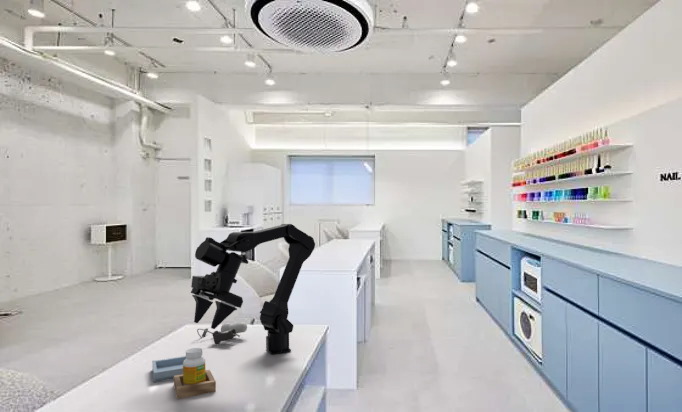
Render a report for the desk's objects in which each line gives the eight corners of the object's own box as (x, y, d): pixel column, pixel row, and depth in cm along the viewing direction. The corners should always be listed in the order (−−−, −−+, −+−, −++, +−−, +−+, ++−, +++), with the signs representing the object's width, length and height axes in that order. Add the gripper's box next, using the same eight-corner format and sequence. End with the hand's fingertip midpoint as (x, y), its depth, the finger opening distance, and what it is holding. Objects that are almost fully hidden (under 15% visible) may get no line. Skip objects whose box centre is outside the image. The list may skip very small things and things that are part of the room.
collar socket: (209, 378, 113) (209, 369, 113) (215, 391, 105) (215, 381, 105) (173, 385, 109) (173, 375, 109) (177, 399, 101) (177, 388, 101)
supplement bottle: (198, 393, 104) (198, 354, 104) (178, 392, 105) (178, 353, 105) (209, 385, 109) (209, 347, 110) (190, 383, 111) (190, 346, 111)
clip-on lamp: (191, 350, 147) (232, 344, 140) (186, 332, 147) (227, 325, 140) (213, 337, 158) (252, 331, 151) (209, 320, 158) (247, 314, 151)
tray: (196, 362, 126) (196, 354, 126) (201, 374, 117) (201, 365, 117) (152, 369, 120) (152, 361, 120) (154, 382, 111) (154, 372, 111)
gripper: (187, 259, 124) (163, 311, 118) (221, 264, 111) (196, 323, 106) (217, 273, 131) (196, 322, 125) (253, 279, 118) (231, 335, 113)
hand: (203, 325), depth 117 cm, fingers open, 9 cm apart
